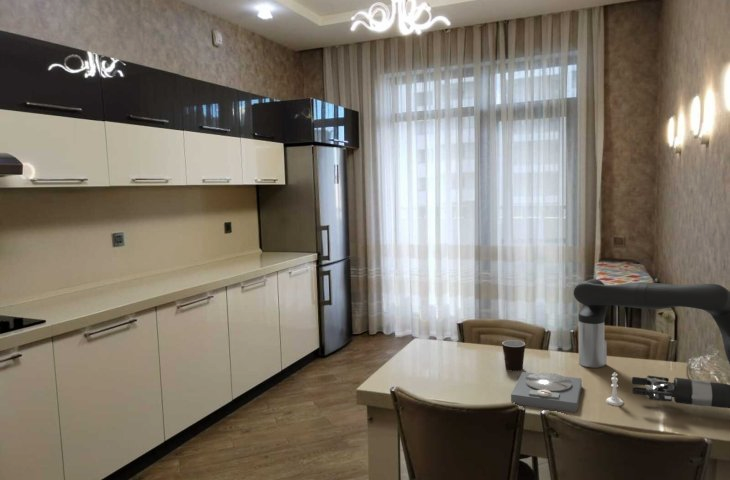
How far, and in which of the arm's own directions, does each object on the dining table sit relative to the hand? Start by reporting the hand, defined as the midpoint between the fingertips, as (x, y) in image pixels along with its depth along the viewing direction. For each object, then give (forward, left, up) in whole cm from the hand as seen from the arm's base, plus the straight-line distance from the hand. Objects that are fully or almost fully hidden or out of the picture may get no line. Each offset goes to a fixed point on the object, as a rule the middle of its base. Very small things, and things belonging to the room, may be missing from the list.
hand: (632, 385), depth 163 cm
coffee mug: (+13, -45, -7) cm, 47 cm away
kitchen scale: (+19, -18, -6) cm, 26 cm away
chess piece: (+4, -4, -7) cm, 8 cm away
